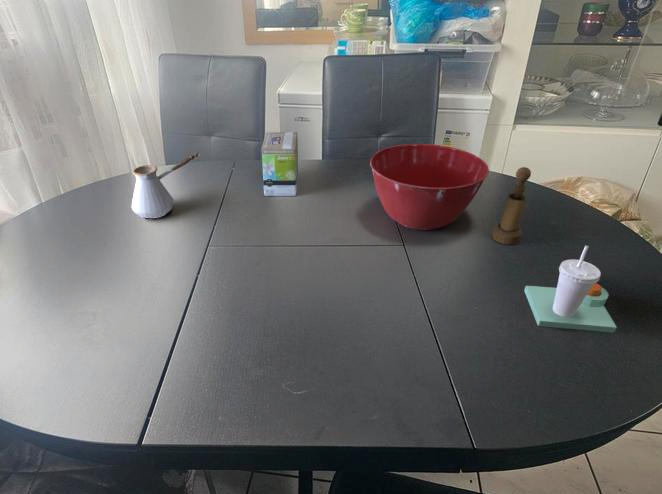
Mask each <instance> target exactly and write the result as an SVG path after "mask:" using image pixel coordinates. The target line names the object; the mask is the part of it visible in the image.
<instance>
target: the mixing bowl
mask: <svg viewBox="0 0 662 494" xmlns="http://www.w3.org/2000/svg"><path fill="white" fill-rule="evenodd" d="M369 165H370V168H371V171H372V176H373V181H374V185H375V190H376V192H377V195H378V197H379V201H380V203H381V205H382V208H383V209H384V211H385V213H386V214H387V215H388V216H389V217H390V218H391V219H392V220H393V221H395V222H397V223H398V224H400V225H401V226H403V227H404V228H405V227H406V228H408V229H412V230H417V231H432V230H436V229H439V228H443V227H446V226H448V225H450V224H451V223H453V222H455V221H456V220H457V219H458V218H459V217H460V216H461V215H462V214H463V212H465V210H467V208H468V207H469V205H470V204H471V203H472V201H473V199H475V196H476V195H477V193H478V192H479V190H480V188H481V186H482V185H483V182H484V181H485V179H486V178H487V177H488V175H489V173H490V169H489V165H488V164H487V163H486V162H485V160H483V159H482V158H480V157H479V156H477V155H475V154H474V153H471V152H468V151H466V150H463V149H461V148H457V147H452V146H446V145H440V144H432V143H406V144H398V145H391V146H389V147H385V148H382V149H380V150H378V151H376V152H375V153H374V154H373V155H372V156H371V158H370V161H369Z"/></svg>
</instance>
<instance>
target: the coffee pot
mask: <svg viewBox="0 0 662 494" xmlns="http://www.w3.org/2000/svg"><path fill="white" fill-rule="evenodd" d="M198 156H199V158H200V159H201V160H203V157H202V156H201V154H200V152H196V153H194V154H190V155H189V157H187V158H185V159H182V160H181V161H180V162H178V163H177V164H175V165H174V166H173V167H171V168H170V169H168V170H166V171H165V172H163V173H161V174H159V175H158V176H157V171H158V167H157V166H155V165H153V164H152V165H150V164H148V165H147V164H146V165H141V166H137V167H135V168H133V169H132V174H133V175H134V176H135V185H134V191H133V196H132V201H131V210H132V211H133V213H134V214H136V215H137V216H139V217H141V218H143V217H146V218H153V217H159V216H162V215H164V214H166V213H168V212H171V210H172V209H173V208H174V204H175V201H174V198H173V196H172V195H171V193H170V192H169V191H168V190H167V188H166V187H165V185H164V184H163V182H162V181H161V179H163V178H164V177H166V176H168V175H169V174H171V173H173V172H174V171H176V170H178V169H180V168H181V167H184V166H185V165H187V164H188V163H190V161H191V160H192V161H193V160H194V159H195V158H197V157H198ZM168 214H169V213H168Z"/></svg>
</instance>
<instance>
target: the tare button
mask: <svg viewBox="0 0 662 494" xmlns="http://www.w3.org/2000/svg"><path fill="white" fill-rule="evenodd" d="M602 288H603V287H602V285H600V284H598V282H596V283H594V285H593V286H592V288H591V289H590V291H589V292H588V294H587V295H590V296H599V294H600V292H601V289H602Z"/></svg>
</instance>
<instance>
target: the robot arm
mask: <svg viewBox="0 0 662 494" xmlns="http://www.w3.org/2000/svg"><path fill="white" fill-rule="evenodd" d="M657 126H659V127H662V113H661V114H660V116H659V119H658V121H657Z"/></svg>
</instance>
